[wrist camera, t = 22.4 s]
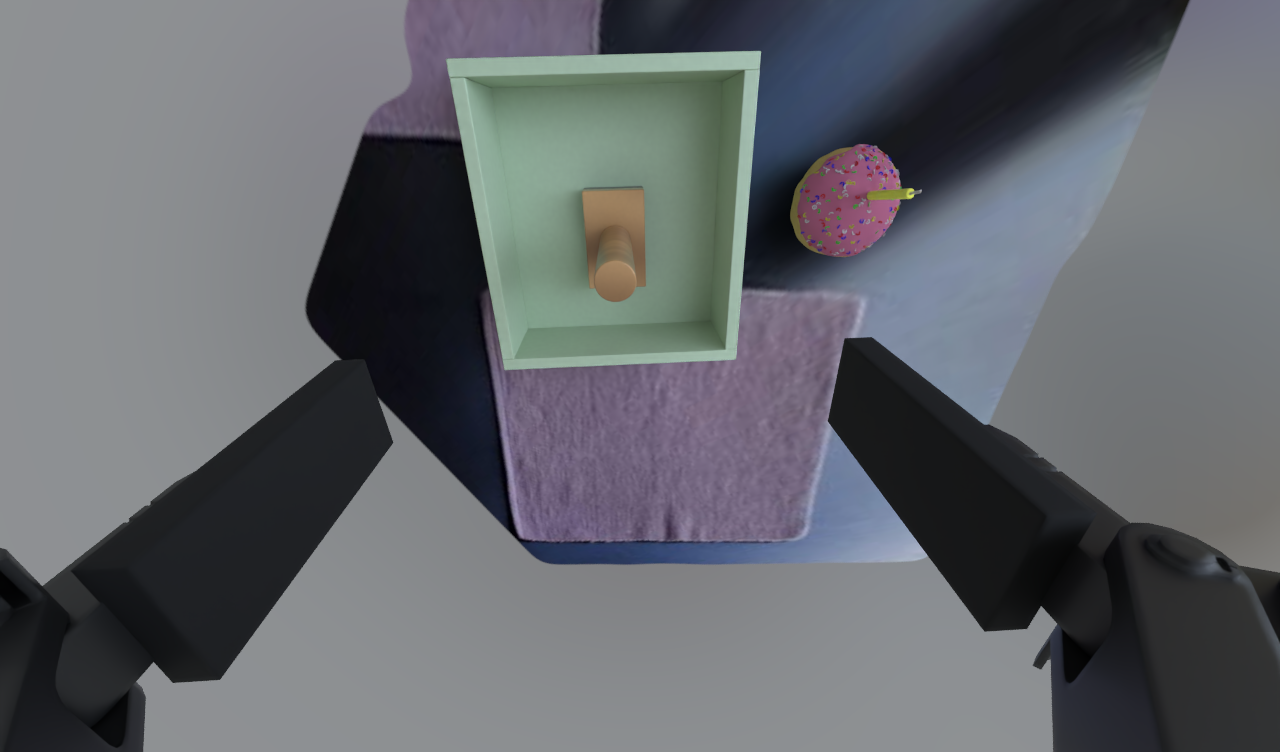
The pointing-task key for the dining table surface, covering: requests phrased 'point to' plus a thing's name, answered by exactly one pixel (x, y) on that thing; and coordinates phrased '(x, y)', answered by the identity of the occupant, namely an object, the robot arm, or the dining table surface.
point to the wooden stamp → (615, 240)
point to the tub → (610, 157)
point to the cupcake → (847, 201)
